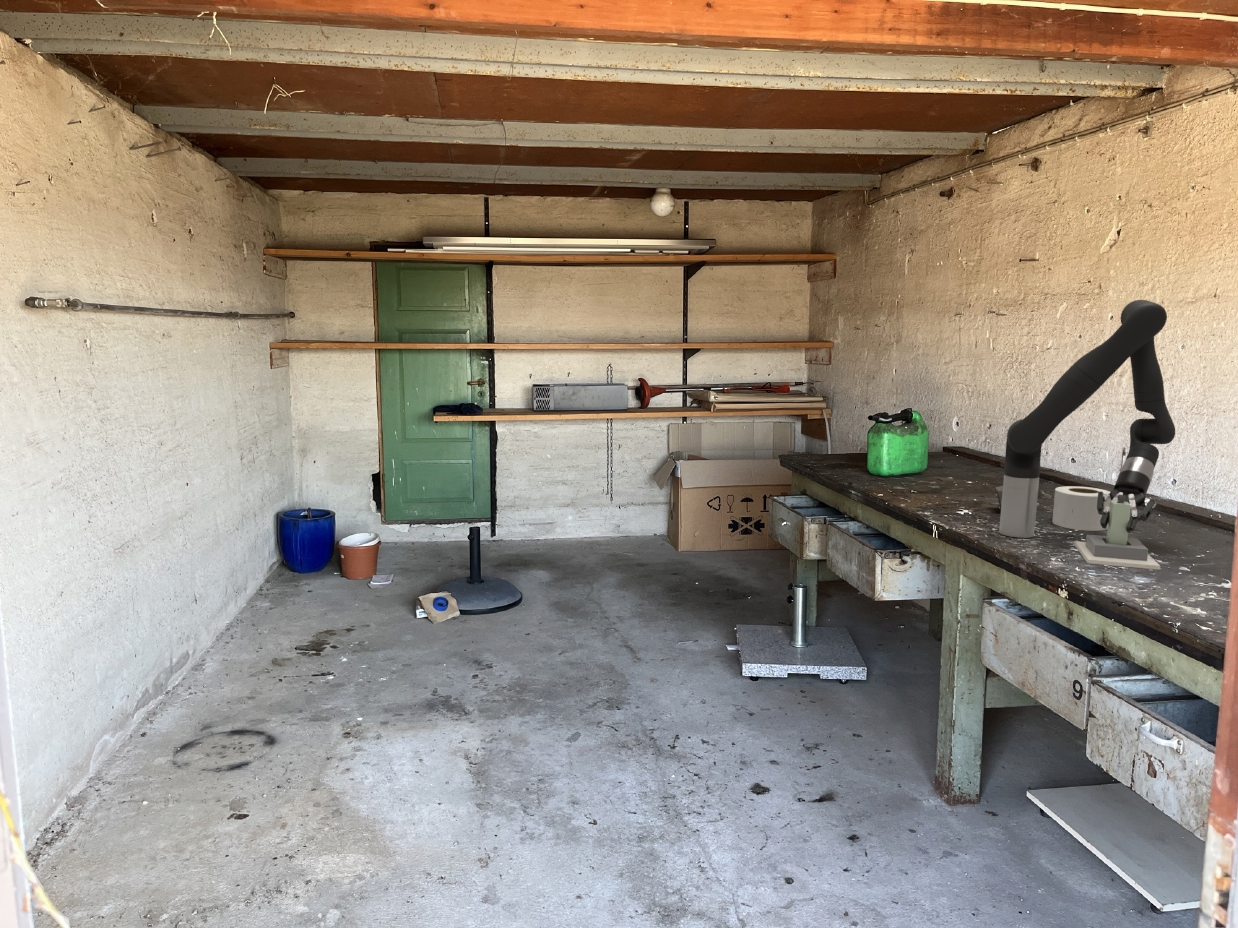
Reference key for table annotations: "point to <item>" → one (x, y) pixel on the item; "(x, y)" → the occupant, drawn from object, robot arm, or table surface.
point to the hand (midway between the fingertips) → (1115, 528)
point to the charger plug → (1118, 521)
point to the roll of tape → (1078, 508)
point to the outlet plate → (1114, 560)
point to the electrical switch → (999, 494)
